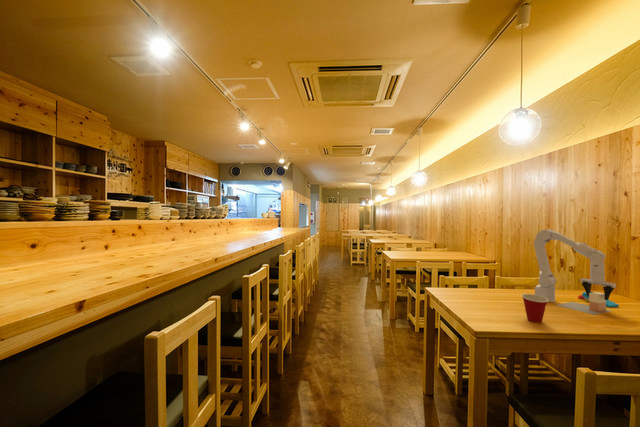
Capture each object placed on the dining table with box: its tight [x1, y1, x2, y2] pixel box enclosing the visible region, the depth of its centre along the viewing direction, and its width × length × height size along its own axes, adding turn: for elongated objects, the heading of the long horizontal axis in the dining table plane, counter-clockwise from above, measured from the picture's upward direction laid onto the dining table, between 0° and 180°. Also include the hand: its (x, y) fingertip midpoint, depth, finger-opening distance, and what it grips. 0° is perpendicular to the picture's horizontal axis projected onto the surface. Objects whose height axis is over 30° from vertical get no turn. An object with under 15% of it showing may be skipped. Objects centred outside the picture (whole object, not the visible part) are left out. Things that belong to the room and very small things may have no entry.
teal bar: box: [577, 291, 620, 308], centre depth 172 cm, size 7×7×18 cm
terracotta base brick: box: [588, 300, 607, 312], centre depth 158 cm, size 4×7×4 cm, turn 112°
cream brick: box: [588, 291, 606, 303], centre depth 158 cm, size 4×7×4 cm, turn 111°
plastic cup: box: [521, 293, 549, 324], centre depth 143 cm, size 11×11×12 cm
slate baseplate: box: [556, 301, 611, 316], centre depth 161 cm, size 18×17×1 cm
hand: (597, 297), depth 158 cm, fingers open, 7 cm apart
